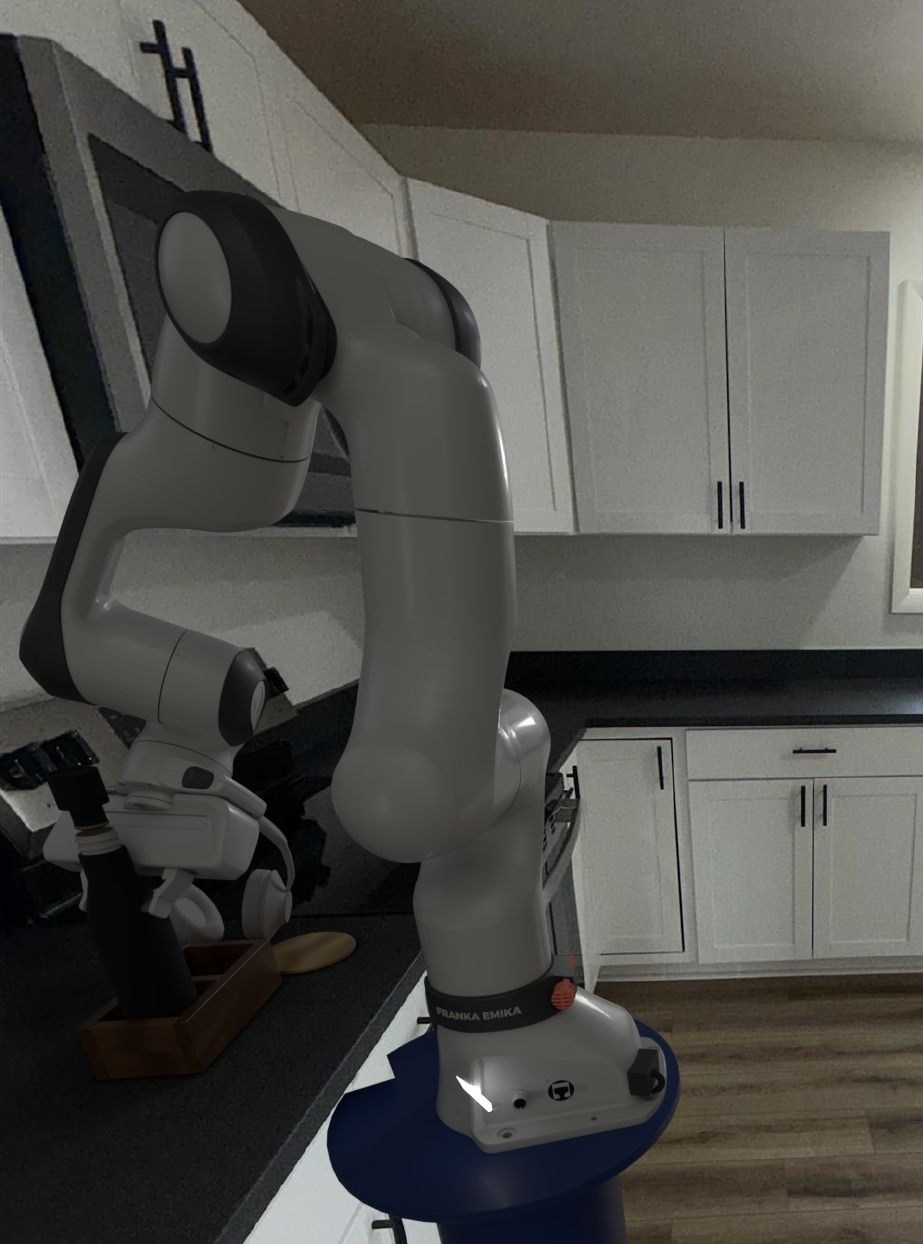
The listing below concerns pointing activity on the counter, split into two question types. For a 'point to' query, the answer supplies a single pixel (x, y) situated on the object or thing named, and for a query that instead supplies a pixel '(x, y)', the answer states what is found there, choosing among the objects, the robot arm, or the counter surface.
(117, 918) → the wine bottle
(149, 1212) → the counter surface
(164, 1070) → the wooden compartment tray
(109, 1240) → the counter surface
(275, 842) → the headphones
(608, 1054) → the robot arm
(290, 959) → the coaster
